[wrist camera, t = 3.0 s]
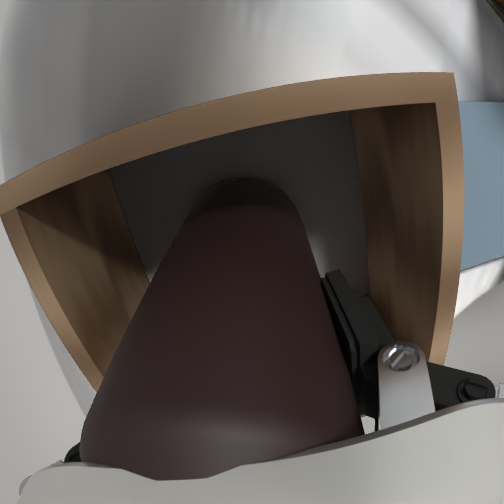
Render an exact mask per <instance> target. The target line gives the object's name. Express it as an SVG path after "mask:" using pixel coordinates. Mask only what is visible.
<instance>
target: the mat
mask: <svg viewBox="0 0 504 504" xmlns="http://www.w3.org/2000/svg"><path fill="white" fill-rule="evenodd" d="M458 105H459V113H460V121H461V132H462V144H463V160H464V228H463V245H462V257H461V268H460V271H461V270H464V269H467V268H470V267H473V266H476V265H479V264H482V263H485V262H488V261H490V260H493V259H496V258H499V257H502V256H504V102H488V101H465V102H458Z"/></svg>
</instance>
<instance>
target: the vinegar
mask: <svg viewBox="0 0 504 504" xmlns="http://www.w3.org/2000/svg"><path fill="white" fill-rule="evenodd" d="M362 435H365V433H364V429H363V425H362V421H361V417H360V413H359V409H358V405H357V401H356V397H355V393H354V390H353V386H352V382H351V379H350V375H349V371H348V368H347V364H346V360H345V357H344V353H343V350H342V346H341V343H340V340H339V336H338V333H337V330H336V327H335V324H334V321H333V318H332V315H331V312H330V309H329V306H328V303H327V300H326V297H325V294H324V291H323V288H322V285H321V278H320V274H319V271H318V268H317V265H316V262H315V259H314V256H313V253H312V250H311V247H310V244H309V241H308V238H307V235H306V232H305V229H304V227H303V224H302V221H301V218H300V216H299V214H298V212H297V210H296V207H295V205H294V203H293V202H292V201H291V200H290V199H289V198H288V197H287V196H286V195H285V194H284V193H283V192H282V191H281V190H279V189H277V188H276V187H274V186H272V185H270V184H268V183H266V182H264V181H259V180H253V179H247V178H242V179H235V180H228V181H224V182H222V183H220V184H218V185H216V186H214V187H212V188H210V189H208V190H207V191H206V192H205V193H204V194H203V195H202V196H201V197H200V198H199V199H198V200H197V201H196V202H195V204H194V206H193V207H192V209H191V211H190V212H189V214H188V216H187V218H186V219H185V221H184V223H183V225H182V226H181V228H180V230H179V232H178V233H177V235H176V237H175V239H174V240H173V242H172V244H171V246H170V248H169V249H168V251H167V253H166V255H165V257H164V258H163V260H162V262H161V264H160V266H159V268H158V269H157V271H156V273H155V275H154V277H153V279H152V281H151V283H150V284H149V286H148V288H147V290H146V292H145V294H144V296H143V298H142V300H141V302H140V304H139V306H138V308H137V310H136V312H135V313H134V315H133V317H132V319H131V321H130V323H129V325H128V328H127V330H126V332H125V334H124V336H123V338H122V340H121V342H120V344H119V346H118V348H117V350H116V352H115V354H114V357H113V359H112V361H111V363H110V365H109V367H108V369H107V372H106V374H105V376H104V378H103V380H102V383H101V385H100V387H99V389H98V392H97V394H96V396H95V398H94V401H93V403H92V405H91V408H90V410H89V412H88V415H87V417H86V420H85V422H84V425H83V429H82V434H81V441H80V447H79V451H80V458H81V461H82V462H92V463H98V464H102V465H106V466H110V467H113V468H118V469H123V470H126V471H129V472H131V473H134V474H137V475H140V476H143V477H146V478H149V479H152V480H155V481H168V480H190V479H204V478H209V477H212V476H215V475H217V474H220V473H223V472H226V471H228V470H231V469H234V468H236V467H239V466H241V465H247V464H253V463H258V462H264V461H269V460H273V459H277V458H280V457H284V456H288V455H291V454H295V453H298V452H302V451H305V450H308V449H312V448H315V447H318V446H322V445H327V444H331V443H335V442H339V441H343V440H347V439H351V438H355V437H358V436H362Z"/></svg>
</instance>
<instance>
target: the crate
mask: <svg viewBox="0 0 504 504" xmlns="http://www.w3.org/2000/svg"><path fill="white" fill-rule="evenodd" d="M347 110H350V115H351V120H352V126H353V132H354V138H355V144H356V151H357V157H358V164H359V172H360V179H361V187H362V196H363V205H364V215H365V225H366V237H367V251H368V267H369V288H370V294H369V295H365V296H361V297H357V300H358V301H361V300H364V299H370V301H371V302H372V304H373V305H374V307H375V308H376V310H377V312H378V313H379V315H380V317H381V318H382V320H383V322H384V323H385V325H386V327H387V329H388V330H389V332H390V334H391V335H392V337H393V339H394V340H395V341H410V342H413V343H415V344H417V345H418V346H419V347H420V348H421V349H422V350H423V352H424V354H425V359H426V361H428V362H431V363H435V364H439V365H443V366H444V361H445V357H446V353H447V348H448V344H449V339H450V334H451V329H452V324H453V318H454V312H455V306H456V300H457V293H458V285H459V277H460V268H461V257H462V245H463V228H464V160H463V144H462V132H461V121H460V113H459V105H458V97H457V91H456V84H455V78H454V73H447V72H411V73H386V74H370V75H358V76H348V77H338V78H330V79H322V80H314V81H308V82H301V83H295V84H289V85H283V86H277V87H272V88H267V89H262V90H257V91H252V92H247V93H243V94H238V95H234V96H230V97H225V98H221V99H217V100H213V101H210V102H206V103H202V104H198V105H195V106H191V107H188V108H184V109H181V110H177V111H174V112H171V113H168V114H164V115H161V116H158V117H155V118H152V119H149V120H146V121H143V122H140V123H137V124H134V125H132V126H129V127H126V128H123V129H121V130H118V131H115V132H113V133H110V134H108V135H105V136H102V137H100V138H97V139H95V140H93V141H90V142H88V143H85V144H83V145H81V146H78V147H76V148H74V149H72V150H69V151H67V152H65V153H63V154H60V155H58V156H56V157H54V158H52V159H50V160H48V161H46V162H44V163H42V164H39V165H37V166H35V167H33V168H32V169H30V170H28V171H26V172H24V173H22V174H20V175H18V176H16V177H14V178H13V179H11V180H9V181H7V182H5V183H3V184H2V185H0V217H1V219H2V222H3V225H4V228H5V230H6V233H7V235H8V238H9V240H10V242H11V245H12V247H13V249H14V251H15V254H16V256H17V258H18V261H19V263H20V265H21V267H22V269H23V271H24V273H25V276H26V278H27V280H28V282H29V284H30V286H31V288H32V290H33V291H34V293H35V295H36V297H37V299H38V301H39V303H40V305H41V306H42V308H43V310H44V312H45V314H46V315H47V317H48V319H49V321H50V322H51V324H52V326H53V328H54V329H55V331H56V333H57V334H58V336H59V337H60V339H61V341H62V342H63V344H64V345H65V347H66V349H67V350H68V352H69V353H70V355H71V356H72V358H73V359H74V361H75V362H76V364H77V365H78V367H79V368H80V370H81V371H82V373H83V374H84V375H85V377H86V378H87V380H88V381H89V382H90V384H91V385H92V387H93V388H94V389H95V391H96V392H98V389H99V387H100V385H101V383H102V380H103V378H104V376H105V374H106V372H107V369H108V367H109V365H110V363H111V361H112V359H113V357H114V354H115V352H116V350H117V348H118V346H119V344H120V342H121V340H122V338H123V336H124V334H125V332H126V330H127V328H128V325H129V323H130V321H131V319H132V317H133V315H134V313H135V312H136V310H137V308H138V306H139V304H140V302H141V300H142V298H143V296H144V294H145V292H146V290H147V288H148V286H149V284H150V282H149V280H148V277H147V275H146V272H145V270H144V268H143V265H142V263H141V260H140V258H139V255H138V252H137V250H136V247H135V245H134V242H133V239H132V237H131V234H130V231H129V229H128V226H127V223H126V220H125V218H124V215H123V212H122V209H121V206H120V203H119V200H118V197H117V194H116V191H115V188H114V185H113V182H112V179H111V176H110V173H109V170H108V169H109V168H112V167H115V166H118V165H121V164H124V163H126V162H129V161H132V160H135V159H138V158H141V157H145V156H148V155H151V154H154V153H157V152H160V151H164V150H167V149H170V148H174V147H177V146H181V145H184V144H188V143H191V142H195V141H199V140H202V139H206V138H210V137H214V136H218V135H222V134H226V133H230V132H234V131H238V130H243V129H247V128H251V127H256V126H261V125H265V124H270V123H275V122H280V121H285V120H291V119H296V118H302V117H307V116H313V115H320V114H326V113H333V112H340V111H347ZM364 416H366V415H365V414H364V415H360V417H364Z"/></svg>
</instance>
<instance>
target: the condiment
mask: <svg viewBox="0 0 504 504" xmlns="http://www.w3.org/2000/svg"><path fill="white" fill-rule="evenodd" d="M488 2H489V3H490V4H491V5H492V6H493V7H494V9H495V10H496V11H497V12H498V13H499V14H500V15H501V17H502V18H503V20H504V0H488Z"/></svg>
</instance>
